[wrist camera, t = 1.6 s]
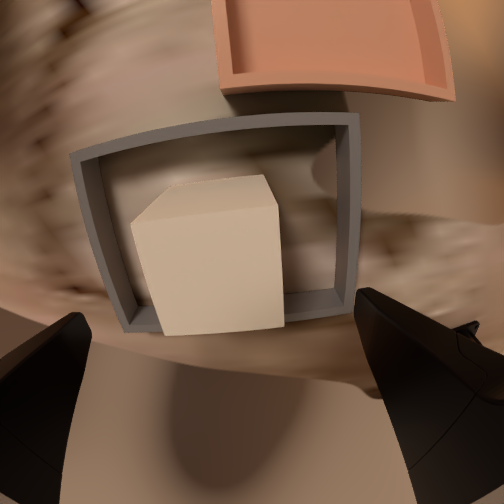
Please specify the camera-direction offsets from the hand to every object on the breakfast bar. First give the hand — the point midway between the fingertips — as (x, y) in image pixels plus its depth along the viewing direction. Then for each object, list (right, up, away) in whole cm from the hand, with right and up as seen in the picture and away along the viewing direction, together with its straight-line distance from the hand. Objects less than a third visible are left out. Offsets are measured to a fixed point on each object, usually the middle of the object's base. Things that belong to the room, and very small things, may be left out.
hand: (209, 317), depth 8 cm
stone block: (0, +3, +7) cm, 8 cm away
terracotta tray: (+5, +16, +1) cm, 17 cm away
